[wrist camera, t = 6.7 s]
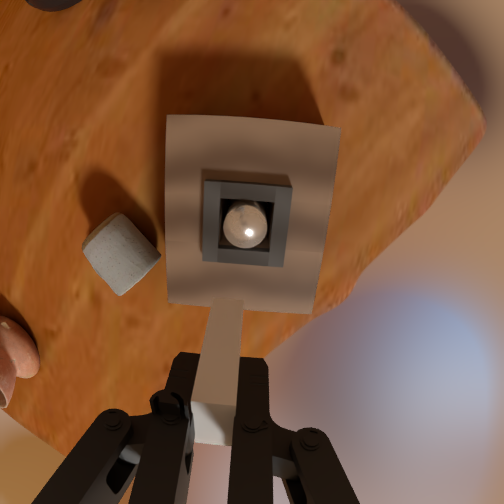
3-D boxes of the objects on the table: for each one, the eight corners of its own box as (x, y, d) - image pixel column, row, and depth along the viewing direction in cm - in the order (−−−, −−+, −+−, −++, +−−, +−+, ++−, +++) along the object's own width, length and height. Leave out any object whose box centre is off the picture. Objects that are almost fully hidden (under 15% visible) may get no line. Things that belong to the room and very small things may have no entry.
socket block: (185, 114, 34) (163, 114, 26) (324, 125, 35) (343, 128, 26) (182, 270, 42) (166, 307, 34) (303, 279, 43) (312, 319, 34)
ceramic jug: (-9, 291, 46) (-53, 333, 33) (47, 329, 48) (7, 381, 35) (-4, 349, 53) (-36, 389, 40) (45, 382, 55) (17, 428, 42)
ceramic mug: (126, 200, 39) (99, 220, 32) (168, 246, 41) (150, 275, 34) (83, 248, 42) (55, 273, 35) (121, 288, 44) (100, 319, 37)
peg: (231, 185, 37) (224, 205, 29) (266, 188, 37) (268, 209, 29) (229, 218, 38) (222, 246, 31) (263, 221, 38) (264, 249, 31)
